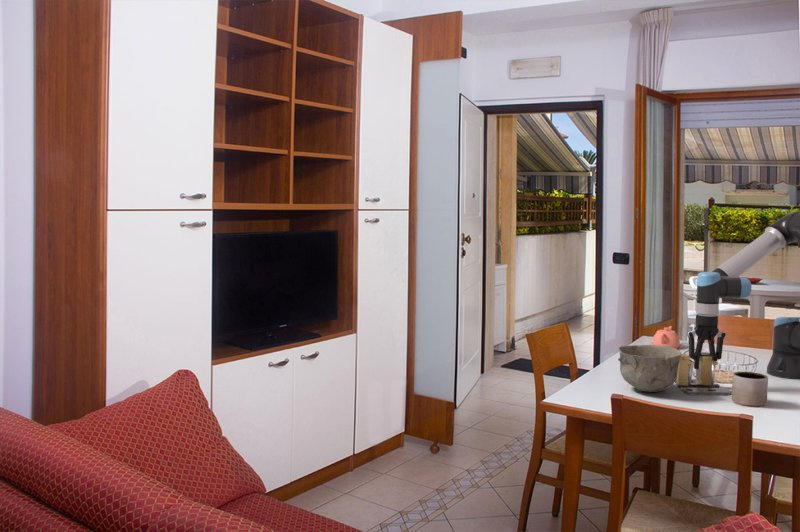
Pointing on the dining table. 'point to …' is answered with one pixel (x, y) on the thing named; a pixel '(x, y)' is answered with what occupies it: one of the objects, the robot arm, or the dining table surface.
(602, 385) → the dining table surface
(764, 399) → the planter
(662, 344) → the teapot
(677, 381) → the fixed leg
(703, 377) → the sliding leg
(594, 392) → the dining table surface
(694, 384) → the rail
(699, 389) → the hole plate
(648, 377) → the bowl
